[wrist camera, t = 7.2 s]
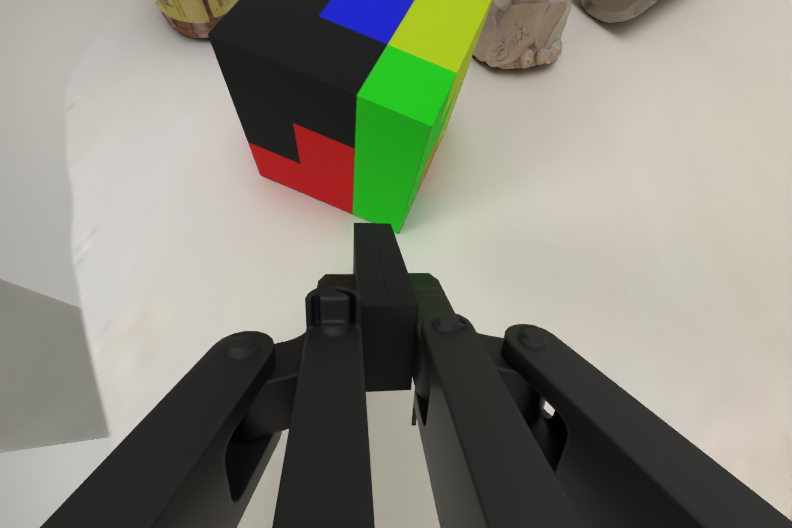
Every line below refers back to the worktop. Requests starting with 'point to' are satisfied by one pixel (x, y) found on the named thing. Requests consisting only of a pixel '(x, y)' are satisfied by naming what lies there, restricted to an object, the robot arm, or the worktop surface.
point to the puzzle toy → (347, 92)
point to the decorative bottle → (616, 9)
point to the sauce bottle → (194, 14)
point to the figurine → (522, 33)
